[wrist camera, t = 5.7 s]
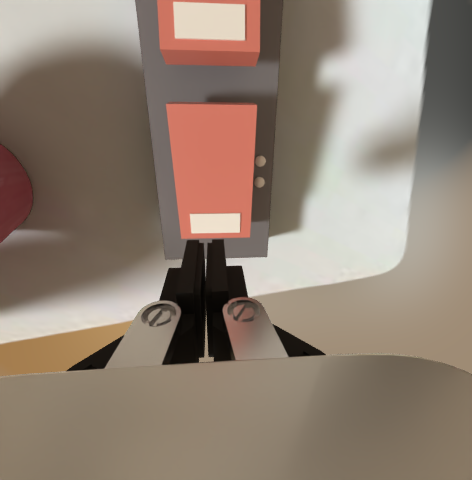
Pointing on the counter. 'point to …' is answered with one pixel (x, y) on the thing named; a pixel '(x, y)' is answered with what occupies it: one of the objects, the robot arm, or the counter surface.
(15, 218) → the plant pot
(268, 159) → the rocker switch box
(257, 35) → the rocker
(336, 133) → the counter surface
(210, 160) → the plate
